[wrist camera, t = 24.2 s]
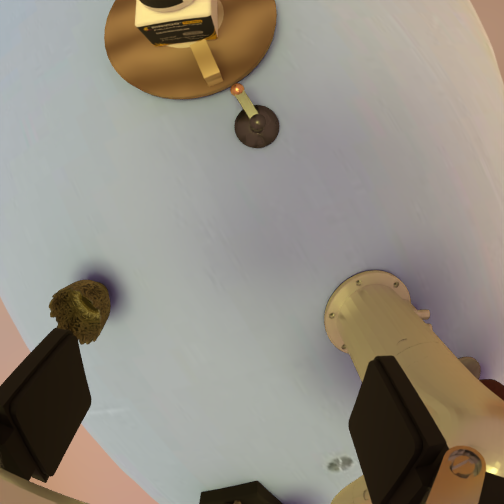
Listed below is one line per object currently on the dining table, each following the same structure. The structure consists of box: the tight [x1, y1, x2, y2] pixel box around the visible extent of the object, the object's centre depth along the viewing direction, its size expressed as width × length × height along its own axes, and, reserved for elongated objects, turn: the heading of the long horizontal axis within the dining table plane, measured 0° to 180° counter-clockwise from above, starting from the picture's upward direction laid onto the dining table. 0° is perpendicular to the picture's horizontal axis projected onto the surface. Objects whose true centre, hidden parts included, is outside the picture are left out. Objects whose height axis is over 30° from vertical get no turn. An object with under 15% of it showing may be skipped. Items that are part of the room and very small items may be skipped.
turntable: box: [104, 0, 277, 99], centre depth 27 cm, size 20×20×6 cm
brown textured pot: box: [49, 280, 111, 345], centre depth 37 cm, size 8×7×8 cm
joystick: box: [230, 83, 279, 148], centre depth 32 cm, size 7×5×6 cm
